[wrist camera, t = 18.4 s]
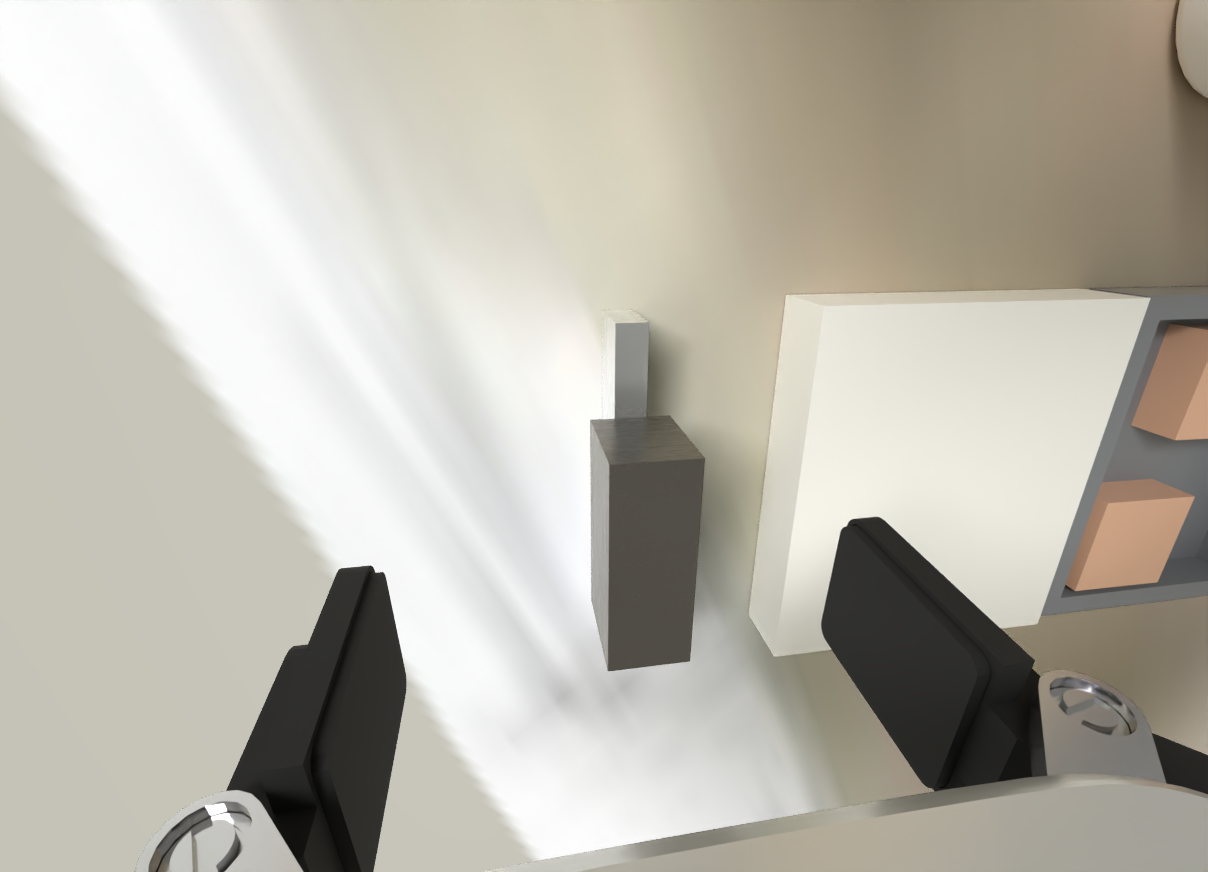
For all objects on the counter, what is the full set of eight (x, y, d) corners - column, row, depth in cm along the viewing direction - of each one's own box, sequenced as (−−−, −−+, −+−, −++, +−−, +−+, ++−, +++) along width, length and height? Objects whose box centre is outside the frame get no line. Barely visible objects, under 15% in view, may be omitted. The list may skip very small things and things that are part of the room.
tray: (1089, 288, 26) (1148, 295, 23) (1320, 283, 28) (1394, 290, 25) (998, 586, 31) (1037, 616, 29) (1193, 564, 33) (1245, 591, 31)
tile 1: (1069, 484, 29) (1108, 503, 27) (1152, 478, 30) (1194, 496, 28) (1040, 568, 31) (1075, 591, 29) (1119, 560, 32) (1157, 582, 30)
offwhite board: (786, 294, 23) (824, 306, 21) (1080, 288, 25) (1150, 298, 23) (748, 614, 29) (774, 657, 26) (990, 587, 31) (1037, 623, 29)
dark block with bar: (578, 309, 22) (610, 350, 16) (653, 308, 23) (713, 346, 16) (582, 620, 28) (607, 743, 21) (643, 614, 28) (684, 732, 22)
